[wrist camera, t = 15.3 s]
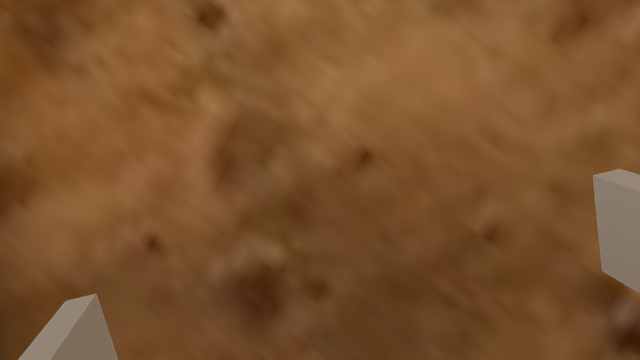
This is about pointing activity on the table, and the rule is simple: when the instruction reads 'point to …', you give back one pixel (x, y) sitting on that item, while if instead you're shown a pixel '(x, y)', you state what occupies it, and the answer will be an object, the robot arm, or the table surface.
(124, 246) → the table surface
